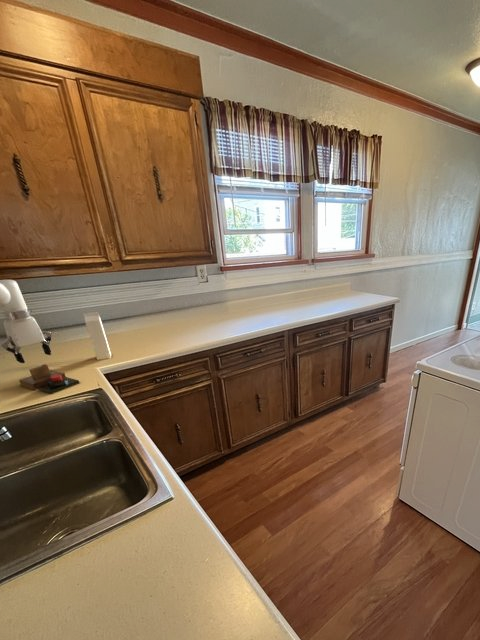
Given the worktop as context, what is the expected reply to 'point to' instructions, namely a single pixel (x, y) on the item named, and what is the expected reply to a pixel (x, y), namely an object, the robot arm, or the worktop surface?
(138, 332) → the worktop surface
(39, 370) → the brown rectangular block
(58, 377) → the button
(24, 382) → the lock plate
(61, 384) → the button block
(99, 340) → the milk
